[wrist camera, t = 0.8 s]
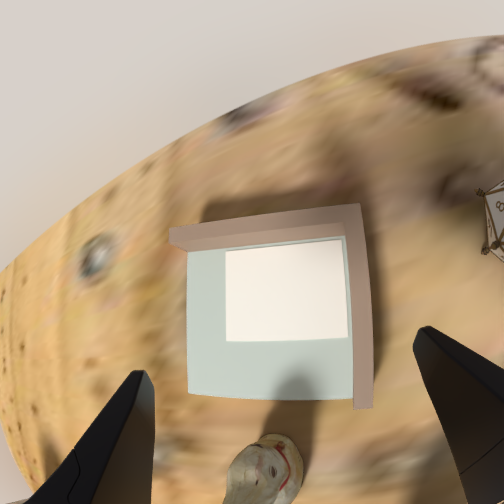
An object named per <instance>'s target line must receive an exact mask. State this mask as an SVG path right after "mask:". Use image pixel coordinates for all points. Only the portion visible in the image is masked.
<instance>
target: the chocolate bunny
mask: <svg viewBox="0 0 504 504" xmlns="http://www.w3.org/2000/svg"><path fill="white" fill-rule="evenodd" d="M303 470H304V469H303V460H302V458H301V456H300V454H299V452H298V449H297V447H296V445H295V444H294V443H293V442H292V440H291V439H290V438H289V437H287V436H285V435H281V434H267V435H265V436H263V437H262V438H261V439H259V440H258V442H255V443H254V444H250V445H248V446H247V447H246V448H245V449H244V450H242V451H241V452H240V453H239V454H238V455H237V456H236V458H235V459H234V460H233V462H232V463H231V465H230V467H229V469H228V473H227V488H226V496H225V498H224V501H223V503H222V504H291V503H292V502H293V500H294V499H295V497H296V496H297V494H298V492H299V490H300V488H301V483H302V478H303Z"/></svg>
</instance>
